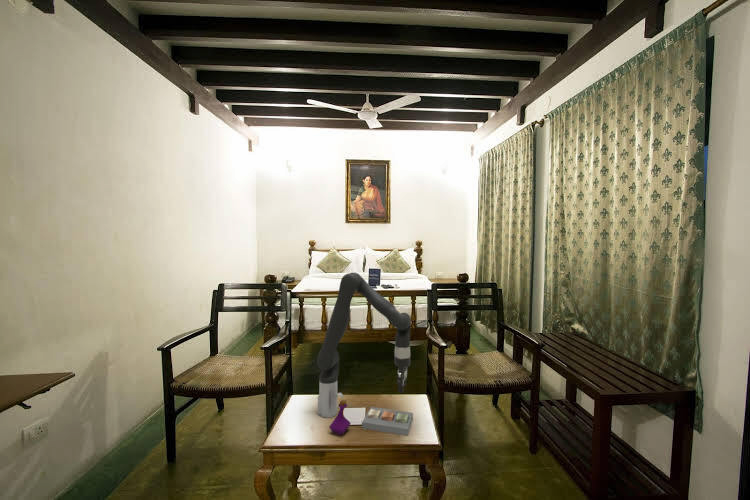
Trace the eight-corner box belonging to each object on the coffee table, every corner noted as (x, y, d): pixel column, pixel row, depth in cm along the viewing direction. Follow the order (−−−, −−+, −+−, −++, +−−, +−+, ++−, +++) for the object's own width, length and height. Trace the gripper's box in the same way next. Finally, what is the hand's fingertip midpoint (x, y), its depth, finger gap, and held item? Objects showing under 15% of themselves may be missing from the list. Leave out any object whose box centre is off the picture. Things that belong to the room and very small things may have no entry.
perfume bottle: (351, 429, 156) (350, 391, 156) (342, 438, 149) (342, 398, 149) (337, 425, 159) (337, 388, 159) (328, 434, 153) (328, 395, 152)
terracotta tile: (381, 420, 160) (381, 416, 160) (384, 415, 164) (384, 411, 164) (392, 421, 158) (392, 417, 158) (394, 416, 163) (394, 412, 163)
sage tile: (396, 422, 158) (396, 418, 158) (398, 417, 163) (398, 413, 163) (406, 423, 156) (406, 419, 156) (408, 418, 161) (408, 414, 161)
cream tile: (368, 418, 162) (368, 414, 162) (370, 413, 166) (370, 409, 166) (377, 419, 160) (377, 415, 160) (380, 414, 165) (380, 410, 165)
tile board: (362, 428, 157) (362, 422, 157) (370, 412, 172) (370, 406, 172) (407, 435, 151) (407, 429, 151) (412, 418, 166) (412, 412, 166)
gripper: (397, 349, 167) (397, 382, 167) (391, 359, 153) (391, 394, 153) (412, 351, 165) (412, 384, 165) (407, 361, 151) (407, 397, 151)
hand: (402, 389), depth 159 cm, fingers open, 7 cm apart
